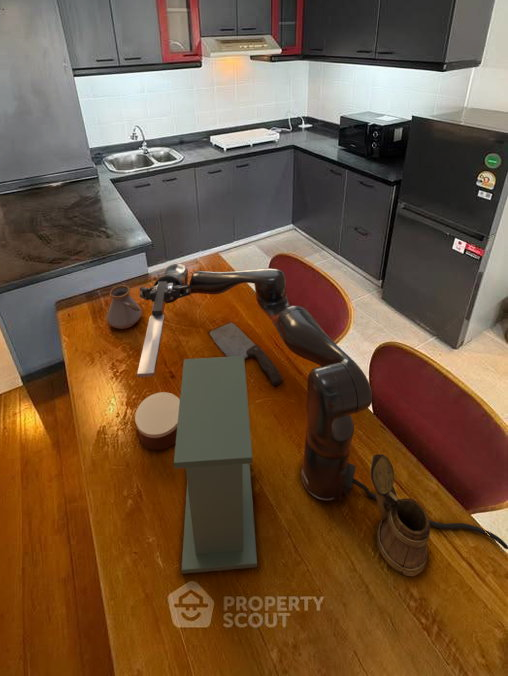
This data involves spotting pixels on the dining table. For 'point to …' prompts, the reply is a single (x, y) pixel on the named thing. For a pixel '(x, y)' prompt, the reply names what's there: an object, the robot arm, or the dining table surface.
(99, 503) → the dining table surface
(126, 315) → the coffee pot
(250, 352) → the cleaver
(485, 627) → the dining table surface
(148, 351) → the knife
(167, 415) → the cake
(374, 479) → the wooden mug
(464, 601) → the dining table surface
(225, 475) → the display stand
